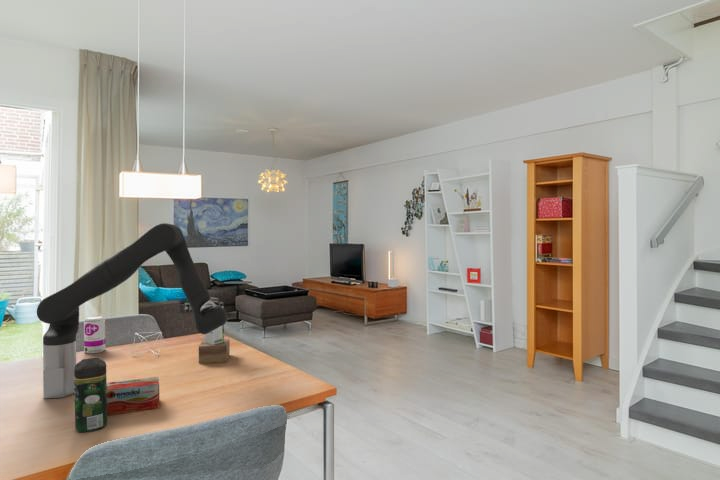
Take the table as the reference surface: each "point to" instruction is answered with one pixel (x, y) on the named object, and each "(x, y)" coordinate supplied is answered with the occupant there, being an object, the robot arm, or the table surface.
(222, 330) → the syrup box
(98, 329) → the supplement can
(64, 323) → the robot arm
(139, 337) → the geometric polyhedron
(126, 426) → the table surface
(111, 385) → the medicine box
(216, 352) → the walnut block
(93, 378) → the coffee jar
